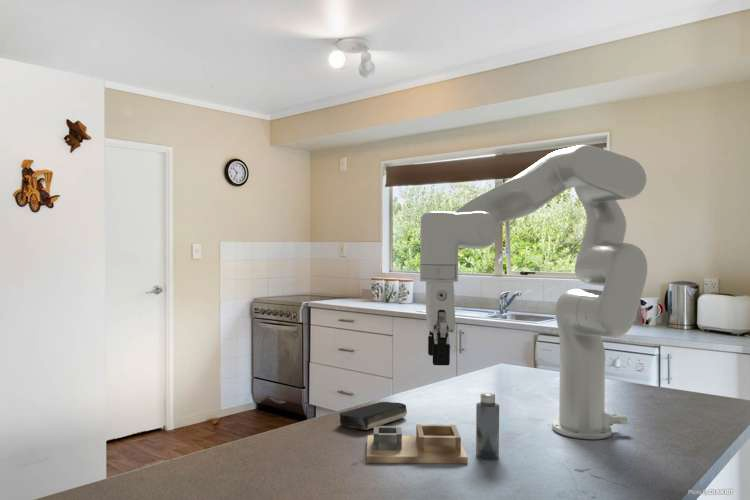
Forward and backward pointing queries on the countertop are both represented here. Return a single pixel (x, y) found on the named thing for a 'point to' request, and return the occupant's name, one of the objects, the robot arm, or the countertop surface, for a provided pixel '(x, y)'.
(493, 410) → the bottle
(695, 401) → the countertop surface
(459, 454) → the holder
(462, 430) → the countertop surface
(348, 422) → the black sponge
